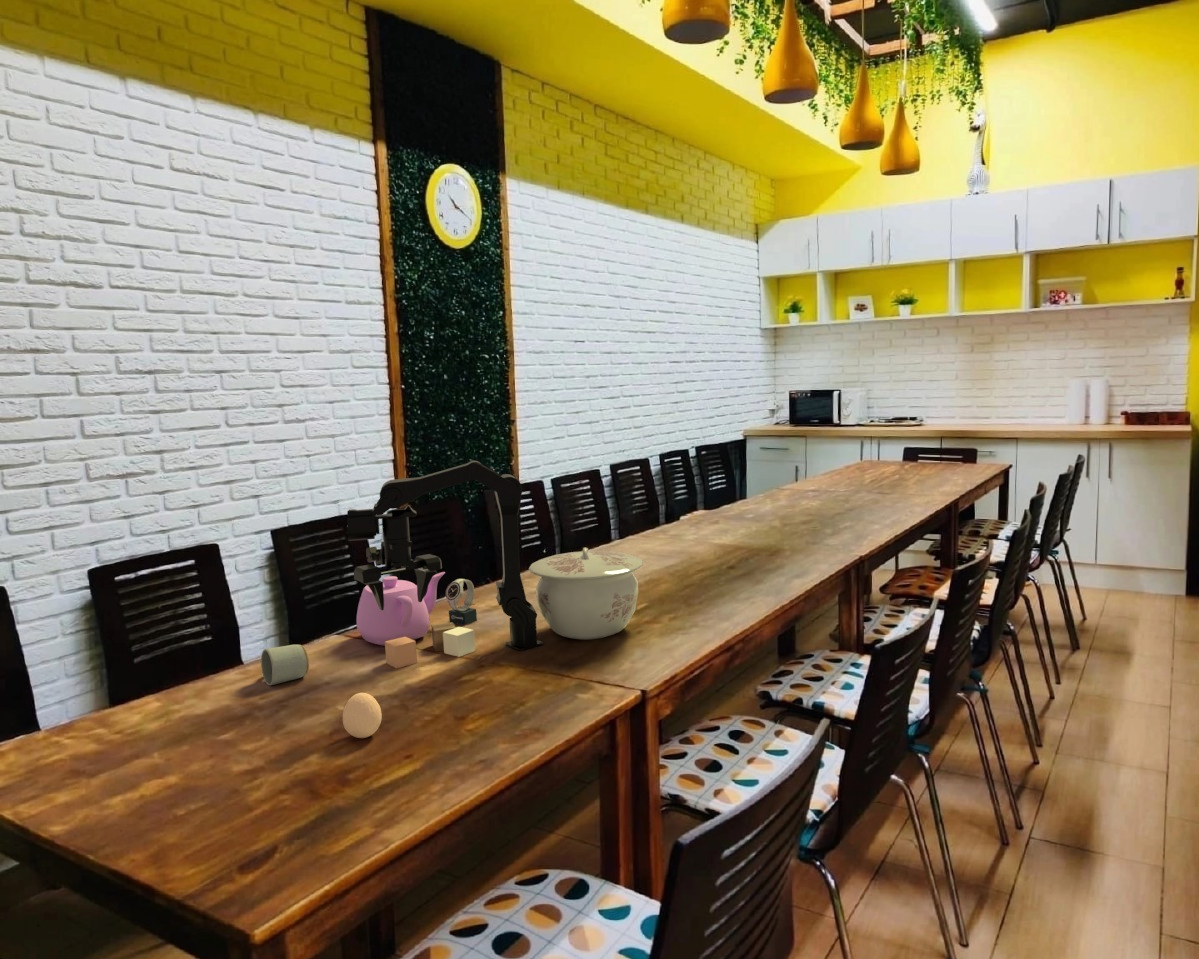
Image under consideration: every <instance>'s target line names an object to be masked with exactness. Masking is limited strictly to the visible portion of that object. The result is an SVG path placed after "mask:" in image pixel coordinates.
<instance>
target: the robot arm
mask: <svg viewBox="0 0 1199 959" xmlns="http://www.w3.org/2000/svg"><path fill="white" fill-rule="evenodd" d="M470 481H476V482H477V483H479V484H481V485H482V486H485V487H486V488H488V489H490V490H492V491H494V495H495V500H496V503H497V508H498V510H499V515H500V530H501V547H502V548H501V550H502V579H501V581H496V582H495V586H496V590H497V594H496V596H495V598H496V601H497V605H498V606H500V607H501V609H502V611H503V613H504V614H505V615H506V616H508V617H509V635H510V636H509V637H510V641H506V642H505V646H506V647H507V646H508V647H510V648H512V649H516V650H517V651H525V650H528V649H531V648H532V649H533V648H535V647H539V646H542V645H543V644H544V643H543V641H541V640H538V635H537V634H538V633H537V630H538V629H537V617H538V614H537V612H536V610H535V608H534V606H533V604H532V603H530V601H528V600H527V598H526V593H525V589H524V583H523V581H522V577H521V576H522V575H521V562H520V560H521V559H520V543H519V542H520V541H519V540H520V538H519V536H520V535H519V518H518V516H519V511H520V507H521V501H522V494H523V487H522V484H521V483H522V482H520V480H518V479H517V478H516V477H515V476H514V475H512V474H508V473H507V474H506V473H504V474H501V473H499V472H497V471H495V470H493V469H491V468H489V467H488V466H485V465H483V464H482V463H481V462H480V461H478V460H470V461H469V462H467V463H463V464H461V465H457V466H454V467H450V468H447V469H444V470H441V471H436V472H433V473H430V474H426V475H422V476H419V477H410V478H409V477H407V478H398V479H396V478H395V479H390V480H387V481H386V482H384V483H383V484H382V486H381V488H380V491H379V499H378V500H377V502H376V503H374V504H373V508H366V509H353V508H352V509H348V510H347V511H346V512H347V513H346V515H347V525H346V533H347V534H346V535H347V540H348V541H349V542H352V541H353V542H354V541H365V540H375V539H376V536H377V535H380V533H381V531H380V520H381V526H382V541H381V542H380V548H377V547H376V546H370V547H366V549H365V553H366V554H365V555H366V560H367V563H370V564H365V565H359V566H355V568H354V571H353V580H355V581H358V582H360V583H362V584H363V585H366V586H367V585H368V586H369V588H370V589H371V591H372V593H373V595H374V597H375V599H376V601H377V604H378V606H379V608H380V610H384V593H383V581H382V580H380V579H382V576H385V575H391V574H396V573H397V574H398V573H402V572H407V571H412V570H414V573H415V576H416V586H417V596H418V602H422V600H423V598H424V597H425V595H426V593H427V590H428V585H429V583H430V581H431V579H432V577H433V576H434V575H436V574H438V572H437V571H439V570H442V568H443V564H442V559H441V558H440V557H439V556H437V555H434V554H432V553H428V554H423V555H417V556H415V558H414V559H412V553H411V552H412V551H411V548H412V547H413V546H414V545H413V541H411V536H410V523H409V522H410V521H409V518H411V517H417V511H416V510H414V509H413V508H412V507H411V505H409V503H411V502H412V501H413V502H414V501H415V500H416V499H418V498H420V497H422V496H424V495H426V494H430V493H433V492H437V491H440V490H443V489H446V488H451V487H453V486H457V485H459V484H460V485H461V484H463V483H464V484H465V483H467V482H470ZM405 505H406V507H405V508H401V507H403V506H405ZM390 509H391V512H390V513H386V512H388V511H389V510H390ZM372 562H373V563H375V565H374V564H371V563H372Z"/></svg>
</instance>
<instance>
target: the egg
mask: <svg viewBox="0 0 1199 959" xmlns="http://www.w3.org/2000/svg"><path fill="white" fill-rule="evenodd" d="M382 716H383V714H382V709H381V706H380V704H379V703H378V701H377V700H376V698H374V696H373V695H371V694H369V693H365V692H359V693H356V694H354V695H353V696H351V697H350V698H349V699H348V701H347V702H346V704H345V707H344V708H343V712H342V724H343V727H344V729H345V730H346V732H347V733H348V734H349V735H351V736H352V737H354V738H358V739H365V738H368V737H371V736H372V735H373V734H375V732H376V731H378V729H379V727H380V725H381V722H382Z"/></svg>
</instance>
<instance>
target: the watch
mask: <svg viewBox="0 0 1199 959" xmlns="http://www.w3.org/2000/svg"><path fill="white" fill-rule="evenodd" d="M464 583H465V584H466V587H467V591H466V594H465V592H464V588H463V587H464ZM475 591H476V590H475V587H474V583H473V582H472V580H469V579H465V578H457V579H455V580H454V581H452V582H451V583H449V584H448V585H447V587H446V589H445V597H446V601H447V602H446V603H448V605H449V607H450V608H451V609H450V610H449V609H448V617H449V618H448V619H449V621H448V623H450V622H453V624H455V625H461V626H462V625H463V626H467V625H469V624H472V623H475V622H478V618H477V617H478V616H477V608H473V607H471V606H472V605H473V602H474V598H475V593H476V592H475ZM464 594H465V598H464V602H463V605H462V606H458V603H459V600H460V599H461V598H462V596H463V595H464Z"/></svg>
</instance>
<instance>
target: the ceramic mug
mask: <svg viewBox="0 0 1199 959" xmlns="http://www.w3.org/2000/svg"><path fill="white" fill-rule="evenodd" d="M260 667H261V672H262V676H263V680H264V682H265V683H266V684H267V686H274V685H278V684H282V683H286V682H289V681H294V680H297V679H301V678H303V677H305V676H306V675H307V674H308V672H309V667H310V660H309V655H308V652H307V650H306V648H305V646H304V645H301V644H289V645H283V646H276V647H269V648H264V649H263V650H262V652H261V656H260Z"/></svg>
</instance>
